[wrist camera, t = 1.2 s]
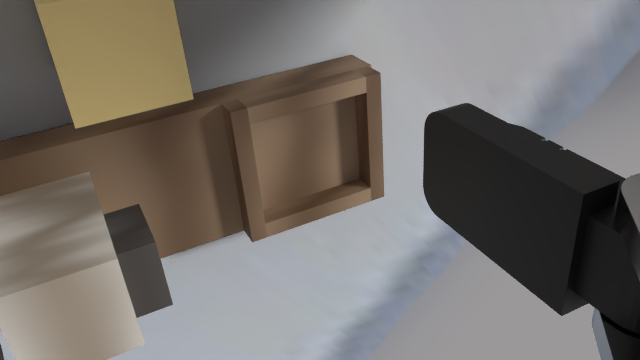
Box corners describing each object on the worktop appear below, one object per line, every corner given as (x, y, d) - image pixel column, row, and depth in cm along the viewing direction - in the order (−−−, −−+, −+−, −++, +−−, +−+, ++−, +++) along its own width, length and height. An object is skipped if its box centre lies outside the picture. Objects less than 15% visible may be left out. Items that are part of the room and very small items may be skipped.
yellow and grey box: (150, 48, 26) (193, 99, 21) (55, 68, 25) (75, 128, 19) (119, -84, 23) (159, -66, 18) (11, -69, 22) (19, -45, 17)
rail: (351, 54, 31) (459, 113, 24) (358, 170, 34) (454, 251, 27) (-80, 161, 24) (-109, 287, 17) (-16, 292, 28) (-18, 441, 20)
